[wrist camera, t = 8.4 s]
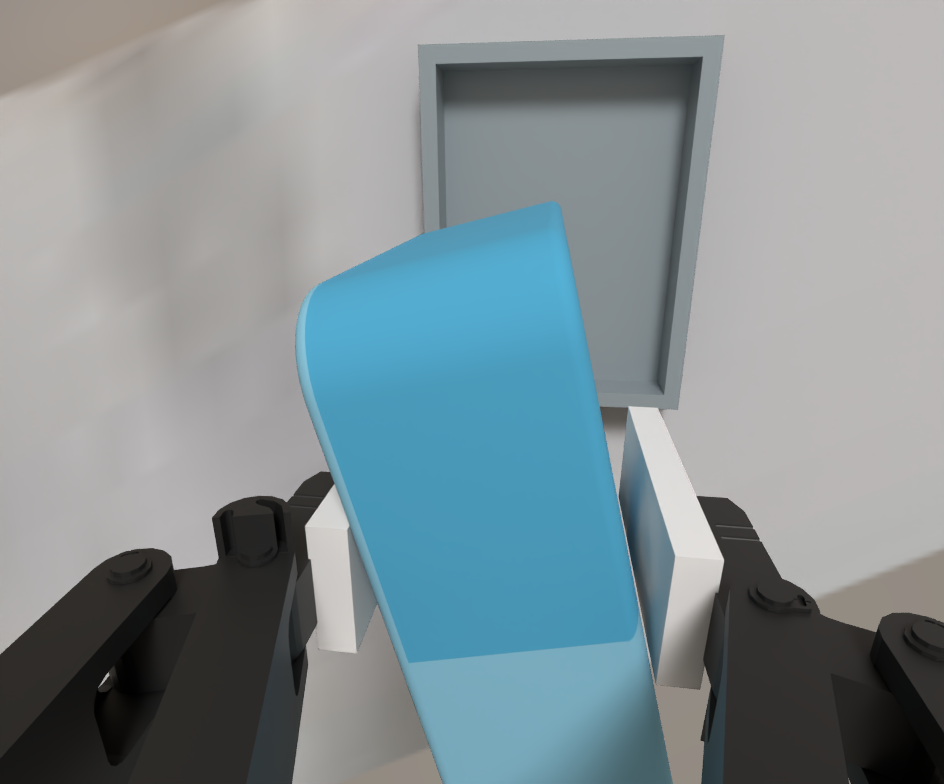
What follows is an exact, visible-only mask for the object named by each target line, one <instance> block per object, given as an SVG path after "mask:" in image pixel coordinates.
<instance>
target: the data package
mask: <svg viewBox="0 0 944 784" xmlns="http://www.w3.org/2000/svg"><path fill="white" fill-rule="evenodd" d="M295 350H296V362H297V370H298V376H299V381H300V385H301V389H302V393H303V397H304V400H305V403H306V406H307V409H308V412H309V414H310V417H311V420H312V423H313V426H314V428H315V431H316V434H317V437H318V439H319V442H320V445H321V448H322V450H323V453H324V456H325V459H326V462H327V464H328V467H329V470H330V473H331V475H332V478H333V481H334V484H335V486H336V489H337V492H338V495H339V497H340V500H341V503H342V506H343V509H344V511H345V514H346V517H347V520H348V522H349V525H350V528H351V531H352V533H353V536H354V539H355V542H356V545H357V547H358V550H359V553H360V556H361V558H362V561H363V564H364V567H365V569H366V572H367V575H368V578H369V580H370V583H371V586H372V589H373V592H374V594H375V597H376V600H377V603H378V605H379V608H380V611H381V614H382V616H383V619H384V622H385V625H386V627H387V630H388V633H389V636H390V639H391V641H392V644H393V647H394V650H395V652H396V655H397V658H398V661H399V663H400V666H401V669H402V672H403V675H404V677H405V680H406V683H407V686H408V688H409V691H410V694H411V697H412V699H413V702H414V705H415V708H416V710H417V713H418V716H419V719H420V722H421V724H422V727H423V730H424V733H425V735H426V738H427V741H428V744H429V746H430V749H431V752H432V755H433V758H434V760H435V763H436V766H437V769H438V771H439V774H440V777H441V780H442V782H443V784H673V782H672V778H671V772H670V767H669V762H668V757H667V752H666V747H665V742H664V736H663V731H662V726H661V721H660V716H659V710H658V705H657V700H656V695H655V690H654V685H653V679H652V674H651V669H650V664H649V659H648V654H647V648H646V643H645V638H644V633H643V628H642V623H641V617H640V612H639V607H638V602H637V597H636V592H635V587H634V581H633V576H632V571H631V566H630V561H629V556H628V550H627V545H626V540H625V535H624V530H623V525H622V520H621V514H620V509H619V504H618V499H617V494H616V489H615V483H614V478H613V473H612V468H611V463H610V458H609V452H608V447H607V442H606V437H605V432H604V427H603V422H602V416H601V411H600V406H599V401H598V396H597V391H596V385H595V380H594V375H593V370H592V365H591V360H590V355H589V349H588V344H587V339H586V334H585V329H584V324H583V318H582V313H581V308H580V303H579V298H578V293H577V288H576V282H575V277H574V272H573V267H572V262H571V257H570V251H569V246H568V241H567V236H566V231H565V226H564V220H563V215H562V210H561V207H560V205H559V204H558V203H557V202H554V201H550V202H546V203H542V204H538V205H534V206H530V207H526V208H522V209H518V210H514V211H510V212H506V213H502V214H498V215H494V216H491V217H487V218H483V219H479V220H475V221H471V222H467V223H463V224H459V225H455V226H451V227H447V228H443V229H439V230H435V231H432V232H428V233H424V234H421V235H419V236H417V237H415V238H413V239H411V240H409V241H407V242H405V243H403V244H401V245H398V246H396V247H394V248H392V249H390V250H388V251H386V252H384V253H382V254H380V255H378V256H376V257H374V258H372V259H370V260H368V261H365V262H363V263H361V264H359V265H357V266H355V267H353V268H351V269H349V270H347V271H345V272H343V273H341V274H339V275H337V276H335V277H332V278H330V279H328V280H326V281H324V282H322V283H320V284H318V285H317V286H315V287H314V288H313V289H312V290H311V291H310V292H309V293H308V294H307V296H306V297H305V299H304V301H303V303H302V305H301V308H300V311H299V314H298V319H297V325H296V335H295Z"/></svg>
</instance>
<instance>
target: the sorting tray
mask: <svg viewBox="0 0 944 784" xmlns="http://www.w3.org/2000/svg"><path fill="white" fill-rule="evenodd" d="M724 36H725V35H713V36H682V37H650V38H618V39H586V40H555V41H523V42H491V43H459V44H427V45H418V59H419V89H420V120H421V151H422V181H423V212H424V233H428V232H432V231H435V230H439V229H443V228H447V227H451V226H455V225H459V224H463V223H467V222H471V221H475V220H479V219H483V218H487V217H491V216H494V215H498V214H502V213H506V212H510V211H514V210H518V209H522V208H526V207H530V206H534V205H538V204H542V203H546V202H550V201H554V202H557V203H558V204H559V205H560V207H561V210H562V215H563V220H564V226H565V231H566V236H567V241H568V246H569V251H570V257H571V262H572V267H573V272H574V277H575V282H576V288H577V293H578V298H579V303H580V308H581V313H582V318H583V324H584V329H585V334H586V339H587V344H588V349H589V355H590V360H591V365H592V370H593V375H594V380H595V385H596V391H597V396H598V401H599V406H600V407H624V408H628V406H633V407H652V408H658V409H673V410H678V405H679V397H680V389H681V381H682V373H683V365H684V357H685V349H686V341H687V333H688V325H689V317H690V309H691V301H692V292H693V284H694V276H695V268H696V260H697V252H698V244H699V236H700V228H701V220H702V212H703V204H704V196H705V188H706V180H707V172H708V164H709V156H710V148H711V140H712V132H713V124H714V116H715V108H716V100H717V92H718V84H719V76H720V68H721V60H722V52H723V44H724Z"/></svg>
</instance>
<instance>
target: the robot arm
mask: <svg viewBox="0 0 944 784" xmlns="http://www.w3.org/2000/svg"><path fill="white" fill-rule="evenodd" d="M619 501H620V506H621V511H622V516H623V521H624V526H625V531H626V536H627V541H628V546H629V551H630V556H631V561H632V566H633V571H634V576H635V582H636V587H637V592H638V597H639V602H640V607H641V612H642V617H643V622H644V627H645V632H646V637H647V642H648V647H649V652H650V657H651V662H652V667H653V672H654V677H655V683H656V685H661V686H670V687H680V688H689V689H699V690H700V687H701V682H702V677H703V671H704V666H705V667H706V671H707V674H708V677H709V681H710V684H711V689H710V694H709V699H708V704H707V710H706V715H705V720H704V725H703V730H702V735H701V741H704V755H703V769H702V783H701V784H849V780H850V782H851V784H944V623H943V622H940V621H937V620H935V619H932V618H929V617H926V616H921V615H916V614H912V613H891V614H889V615H887V616H885V617H882V619H881V621H880V624H879V626H878V629H877V632H873V631H869V630H866V629H863V628H859V627H856V626H852V625H849V624H845V623H842V622H839V621H836V620H833V619H830V618H827V617H825V616H823V615H821V614H820V610H819V608H818V606H817V604H816V602H815V600H814V599H813V598H812V597H811V596H810V595H809V594H808V593H807V592H805V591H804V590H803V589H801V588H800V587H798V586H796V585H794V584H793V583H791V582H789V581H787V580H784V579H782V578H781V576H780V574H779V573H778V571H777V569H776V567H775V565H774V564H773V562H772V560H771V558H770V556H769V555H768V553H767V551H766V549H765V547H764V546H763V544H762V542H760V541H759V539H760V538H759V537H758V535H757V533H756V531H755V530H754V529H753V526H752V524H751V522H750V521H749V519H748V517H747V515H746V513H745V512H744V511H743V510H742V509H741V508H739V507H738V506H737V505H735V504H734V503H733V502H732V501H730V500H729V499H728V498H718V497H704V496H696V494H695V492H694V490H693V487H692V485H691V483H690V481H689V478H688V476H687V474H686V471H685V469H684V467H683V464H682V462H681V460H680V458H679V455H678V453H677V451H676V448H675V446H674V444H673V442H672V439H671V437H670V435H669V432H668V430H667V428H666V425H665V423H664V421H663V419H662V416H661V414H660V412H659V409H658V408H652V407H633V406H628V414H627V423H626V433H625V442H624V451H623V461H622V470H621V479H620V489H619ZM212 521H213V527H214V533H215V538H216V544H217V550H218V556H219V559H218V561H217V564H215V565H209V566H204V567H196V568H188V569H179V570H174V569H173V564H172V559H171V556H170V555H169V554H168V553H166V552H165V551H163V550H158V549H154V548H148V549H135V550H131V551H126V552H123V553H120V554H119V555H116V556H114V557H112V558H109V559H107V560H105V561H104V562H103V563H101V564H100V565H98V566H97V567H96V568H94V569H93V570H92V571H91V572H90V573H89V574H88V575H86V576H85V577H84V578H83V579H82V580H81V581H80V582H79V583H78V584H77V585H76V586H74V587H73V588H72V589H71V590H70V591H69V592H68V593H67V594H66V595H65V596H64V597H62V598H61V599H60V600H59V601H58V602H57V603H56V604H55V605H54V606H53V607H52V608H51V609H49V610H48V611H47V612H46V613H45V614H44V615H43V616H42V617H41V618H40V619H39V620H37V621H36V622H35V623H34V624H33V625H32V626H31V627H30V628H29V629H28V630H27V631H25V632H24V633H23V634H22V635H21V636H20V637H19V638H18V639H17V640H16V641H15V642H13V643H12V644H11V645H10V646H9V647H8V648H7V649H6V650H5V651H4V652H3V653H1V654H0V784H292V779H293V771H294V764H295V757H296V749H297V742H298V735H299V727H300V720H301V713H302V705H303V698H304V691H305V683H306V676H307V669H308V659H307V650H306V644H307V642H308V640H309V638H310V636H311V634H312V632H313V630H314V628H315V626H316V634H317V643H318V649H321V650H331V651H340V652H350V653H357V651H358V649H359V647H360V644H361V642H362V639H363V637H364V634H365V632H366V629H367V627H368V624H369V622H370V619H371V617H372V615H373V612H374V610H375V607H376V605H377V600H376V597H375V594H374V592H373V589H372V586H371V583H370V580H369V578H368V575H367V572H366V569H365V567H364V564H363V561H362V558H361V556H360V553H359V550H358V547H357V545H356V542H355V539H354V536H353V533H352V531H351V528H350V525H349V522H348V520H347V517H346V514H345V511H344V509H343V506H342V503H341V500H340V497H339V495H338V492H337V489H336V486H335V484H334V481H333V478H332V475H331V473H330V472H319V473H318V474H316V475H314V476H312V477H311V478H309V479H307V480H306V481H304V482H303V483H302V484H301V486H300V487H299V488H298V489H297V491H296V492H295V493H294V497H293V496H292V497H291V498H290V499H289V501H288V502H287V503H286V502H285V501H284V500H283V499H280V498H276V497H273V496H255V497H249V498H243V499H240V500H237V501H235V502H232V503H229V504H228V505H226V506H224V507H223V508H221V509H220V510H218V511H217V513H216V514H215V515H214V516H213V517H212ZM108 672H109V675H110V676H109V677H108V678H107V679H106V680H105V682H104V683H103V684H102V685H101V686H100V687H99V685H100V684H101V682H102V680H103V679H104V677H105V676H106V674H107V673H108ZM98 687H99V688H98ZM848 778H849V780H848Z"/></svg>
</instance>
